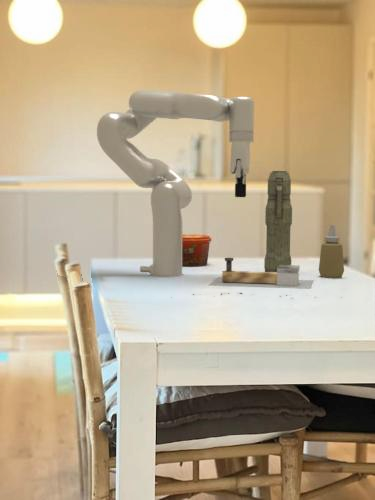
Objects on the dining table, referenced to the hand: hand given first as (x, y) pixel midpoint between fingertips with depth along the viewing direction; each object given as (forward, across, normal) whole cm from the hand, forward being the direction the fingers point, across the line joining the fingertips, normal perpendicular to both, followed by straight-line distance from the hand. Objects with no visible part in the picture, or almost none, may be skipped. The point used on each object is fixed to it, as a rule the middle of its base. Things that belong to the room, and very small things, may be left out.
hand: (240, 196), depth 272 cm
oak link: (+25, +9, +7) cm, 28 cm away
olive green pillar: (+27, -21, +10) cm, 36 cm away
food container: (+27, -46, -25) cm, 59 cm away
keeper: (+26, +9, +16) cm, 32 cm away
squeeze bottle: (+27, -12, +28) cm, 41 cm away
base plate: (+27, +8, +8) cm, 29 cm away
